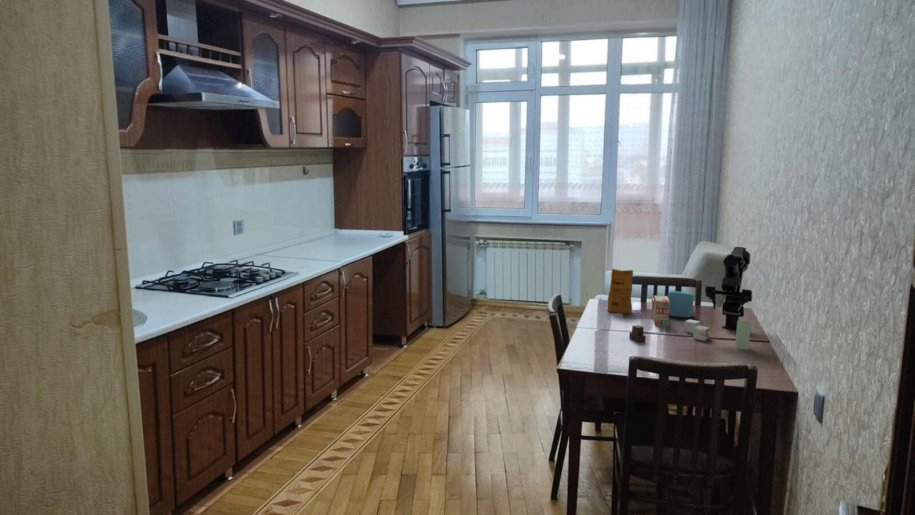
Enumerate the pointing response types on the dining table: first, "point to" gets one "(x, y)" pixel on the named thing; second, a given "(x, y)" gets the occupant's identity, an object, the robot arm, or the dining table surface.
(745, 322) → the sage green block
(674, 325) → the dining table surface
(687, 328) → the light grey cube
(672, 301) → the light blue box
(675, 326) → the dining table surface
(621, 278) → the coffee package
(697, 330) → the oatmeal cube
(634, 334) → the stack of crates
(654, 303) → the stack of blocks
